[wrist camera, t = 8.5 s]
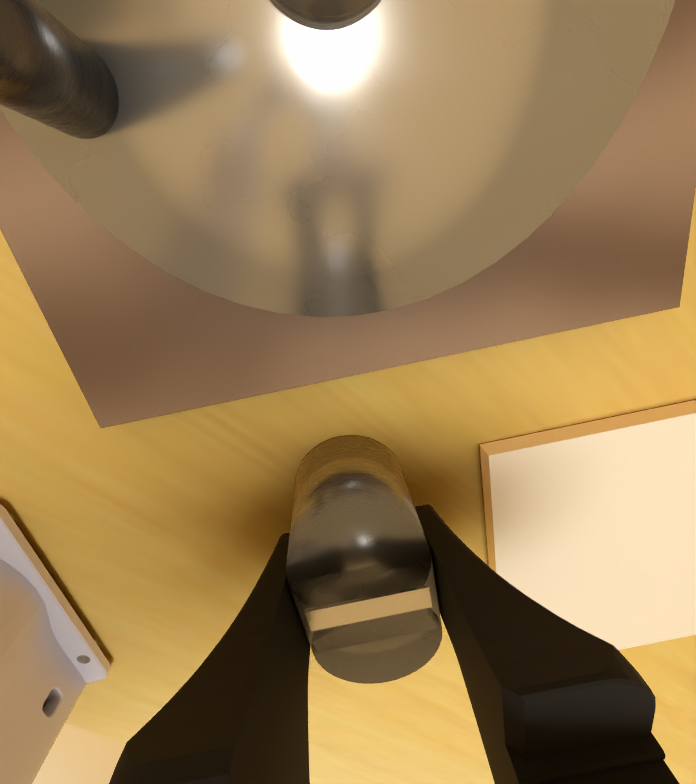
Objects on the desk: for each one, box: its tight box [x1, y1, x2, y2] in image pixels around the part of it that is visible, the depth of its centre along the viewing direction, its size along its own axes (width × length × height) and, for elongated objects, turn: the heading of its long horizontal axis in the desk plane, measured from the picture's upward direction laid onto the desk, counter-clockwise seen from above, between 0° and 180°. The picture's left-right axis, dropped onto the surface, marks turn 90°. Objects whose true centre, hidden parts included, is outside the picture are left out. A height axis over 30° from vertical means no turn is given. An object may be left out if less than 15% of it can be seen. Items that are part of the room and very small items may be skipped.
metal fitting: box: [286, 435, 442, 683], centre depth 13 cm, size 7×4×4 cm, turn 11°
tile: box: [480, 400, 696, 650], centre depth 15 cm, size 12×10×1 cm
